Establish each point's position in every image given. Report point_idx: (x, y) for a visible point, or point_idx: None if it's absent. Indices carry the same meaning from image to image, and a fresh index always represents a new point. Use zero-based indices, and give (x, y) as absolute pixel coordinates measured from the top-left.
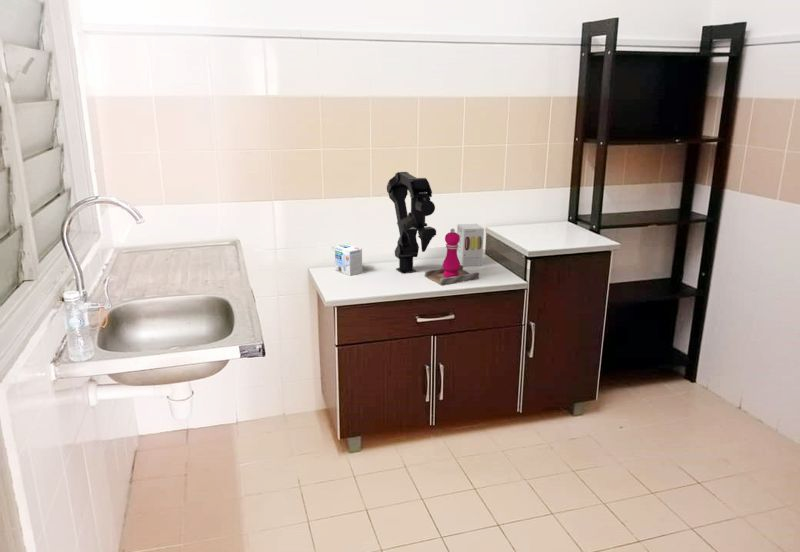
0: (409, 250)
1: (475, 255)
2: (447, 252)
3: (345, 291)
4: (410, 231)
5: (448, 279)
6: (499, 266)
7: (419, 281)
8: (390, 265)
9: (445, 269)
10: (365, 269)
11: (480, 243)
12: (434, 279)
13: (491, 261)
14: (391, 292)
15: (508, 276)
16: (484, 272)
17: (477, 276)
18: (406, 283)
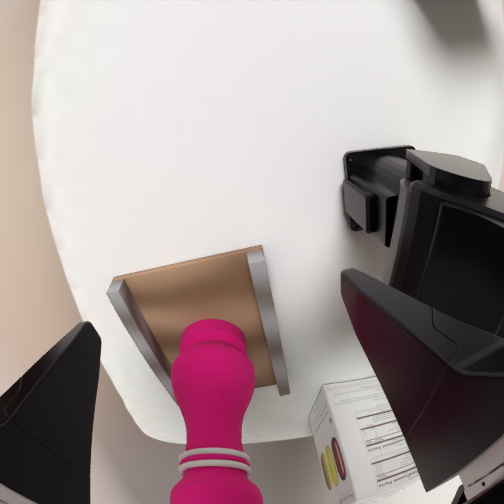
0: (397, 244)
1: (320, 434)
2: (207, 426)
3: None
4: (459, 427)
5: (123, 319)
6: (280, 437)
7: (187, 197)
8: (462, 151)
9: (191, 347)
10: (447, 27)
11: (324, 471)
12: (179, 272)
13: None
14: (62, 32)
15: None
16: None
17: None
18: (169, 119)
